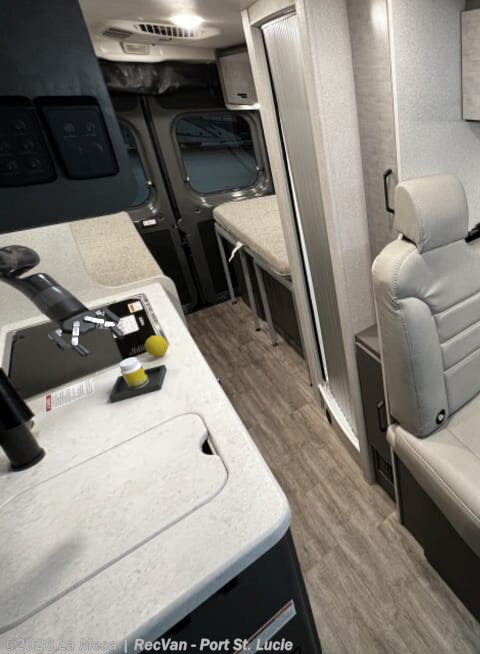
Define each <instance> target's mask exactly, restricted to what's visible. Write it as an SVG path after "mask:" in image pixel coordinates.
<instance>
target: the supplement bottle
mask: <svg viewBox="0 0 480 654" xmlns="http://www.w3.org/2000/svg"><path fill="white" fill-rule="evenodd" d="M118 366H119V369H120V374H121V376H122V375H123V377H124V379H125V381H126V383H127V385H128V386H129V388H130V389H137V388H141V387H143V386H145V385H146V384H147V383H148V382H149V379H148V377H147V375H146V373H145V371H144V370H145V369H144V367H143V365H142V363H140V362H139V361H138V359H137V358H136V357H134V356H133V357H128V358H125V359H123V360H122V361H120V362H119V364H118Z"/></svg>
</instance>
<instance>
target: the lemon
mask: <svg viewBox="0 0 480 654" xmlns="http://www.w3.org/2000/svg"><path fill="white" fill-rule="evenodd" d="M168 344H169V343H168V342H167V340H166V338H164V337H163V336H161V335H150V337H148V338H147V339H146V340H145V343H144V349H145V351H146V353H147V354H148V355H150V356H152V357H162V356H164V354H166V353H167V351H168V348H169V345H168Z"/></svg>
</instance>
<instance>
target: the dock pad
mask: <svg viewBox="0 0 480 654" xmlns="http://www.w3.org/2000/svg"><path fill="white" fill-rule="evenodd" d="M144 371H145V373H146V375H147V377H148V379H149V382H148V383H147V384H146V385H145V386H143V387H141V388H137V389H130V388H129V386H128V385H127V383H126V381H125V379H124V377H123V375H122V374H121V375H118V376H117V377H116V380H115V383H114V385H113V387H112V390H111V392H110V394H109V396H108V399H109V401H110V402H111V404H114V403H117V402H121V401H125V400H128V399H132V398H135V397H138V396H143V395H146V394H150V393H152V392H153V393H154V392H156V391H160V390H162V388H163V384H164V381H165V377H166V374H167V371H168V369H167V367H166V364H161V365H157V366H154V367H153V366H152V367H150V368H146V369H144Z"/></svg>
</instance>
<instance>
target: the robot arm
mask: <svg viewBox="0 0 480 654" xmlns="http://www.w3.org/2000/svg"><path fill="white" fill-rule="evenodd" d="M40 257H41V256H40V255H39V254H38V252H36V251H35V250H34V249H32V248H31V247H28V246H25V245H20V244H11V245H5V246H0V282H1V283H4V284H6V285H8V286H10V287H11V288H13V289H15V290H16V291H18V292H20V293H21V294H22V295H23V296H24V297H26V298H27V299H28V300H29V301H30V302H31V303H32V304H33V305H34V306H35V308H37V309H38V310H39V312H40V313H41V314H43V315H44V316H45V317H46V318H48V319H49V321H51V322H52V323H53V324H54V325H56V327H58V329H55V330H49V331H48V334H47V338H48V340H50V341H51V342H52V343H53V344H54V345H55V346H56V347H57V348H58V349H59V350H60V351H61V352H67V351H68V350H69V351H70V350H73V351H74V352H75V353H77V354H78V355H79V356H80V357H85V358H88V357H90V356H91V352H90V351H89V350H88V348H85V347H84V346H83V344H81V343H79V337H80V336H82V337H83V336H85V335H87V333H90V332H93V331H95V330H96V329H99V330H103V329H104V330H109V332H110V333H111V334H112V335H114V337H116V338H117V339H118V340H122V339H123V338H124V331H123V330H121V329H120V328H119V327H118V326H117V325H119V323H120V321H121V319H120V317H119V316H117V314H115V313H114V312H112V311H111V310H110V309H109V308H108V307H107V306H102V307H100V309H99V310H97V311H92V310H90V309H89V308H88V307H87V306H86V305H85V304H84V303H82V301H80V300H79V298H77V297H76V296H75V295H74V294H73V293H71V292H70V291H69V290H68V289H66V288H65V287H64V286H62V285H61V284H59V282H58V281H57V280H55V279H54V278H53V277H52V276H51V275H49V274H48V273H45V272H37V273H32V274H30V275H27V276H24V277H21V276H23V275H25V274H26V273H28V272H30V271H31V270H33V269H34V268H36V267H37V266H38V265H40V262H41V258H40ZM20 277H21V278H20ZM98 317H101V318H98ZM102 318H105V319H102ZM62 334H64V335H65V334H66V335H70V342H68V343H67V342H66V341H65V340H64V339H63V338H62Z"/></svg>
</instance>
